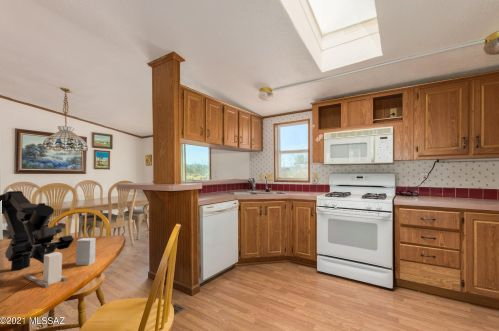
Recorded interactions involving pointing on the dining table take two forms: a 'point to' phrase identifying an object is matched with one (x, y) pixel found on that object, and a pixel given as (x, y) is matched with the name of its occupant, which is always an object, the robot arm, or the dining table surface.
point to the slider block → (52, 267)
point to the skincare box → (85, 251)
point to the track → (41, 281)
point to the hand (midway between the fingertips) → (49, 265)
